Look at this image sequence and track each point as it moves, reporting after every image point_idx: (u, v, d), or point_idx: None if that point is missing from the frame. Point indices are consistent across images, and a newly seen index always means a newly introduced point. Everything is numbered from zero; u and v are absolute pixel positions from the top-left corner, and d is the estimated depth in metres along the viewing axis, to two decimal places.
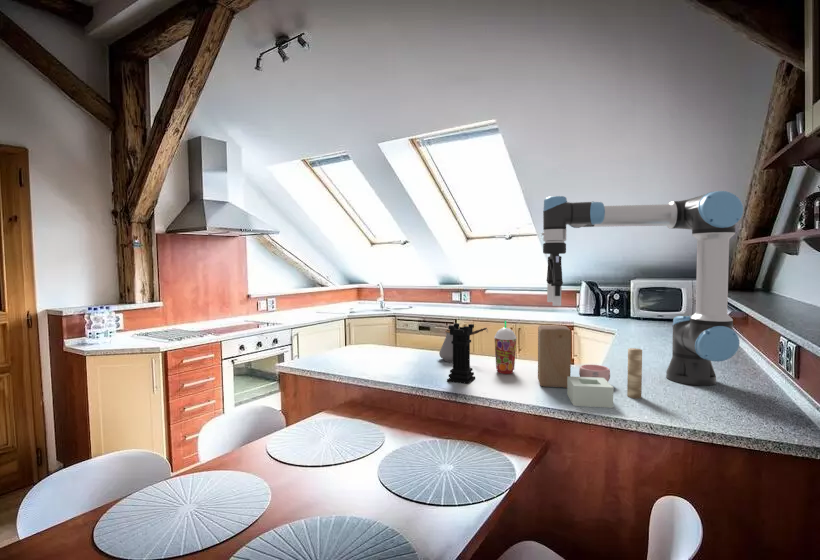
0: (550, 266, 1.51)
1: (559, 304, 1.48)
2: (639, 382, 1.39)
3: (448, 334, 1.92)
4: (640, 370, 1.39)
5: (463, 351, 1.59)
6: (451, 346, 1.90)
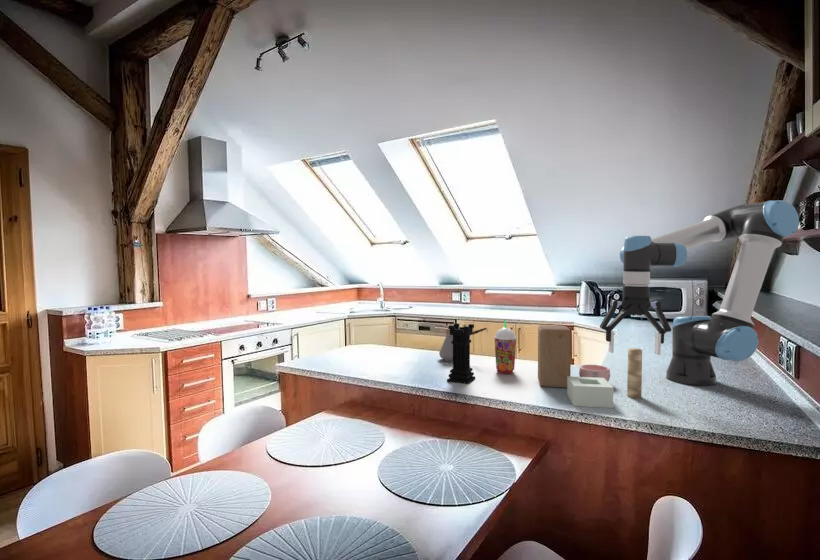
0: (622, 310, 1.43)
1: (610, 350, 1.41)
2: (639, 382, 1.39)
3: (448, 334, 1.92)
4: (640, 370, 1.39)
5: (463, 351, 1.59)
6: (451, 346, 1.90)
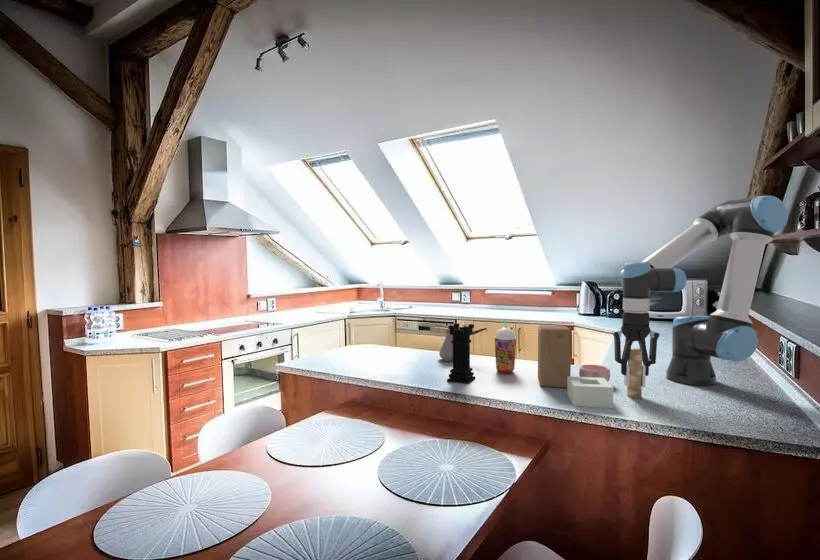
0: (626, 339, 1.43)
1: (626, 384, 1.41)
2: (639, 382, 1.39)
3: (448, 334, 1.92)
4: (640, 370, 1.39)
5: (463, 351, 1.59)
6: (451, 346, 1.90)
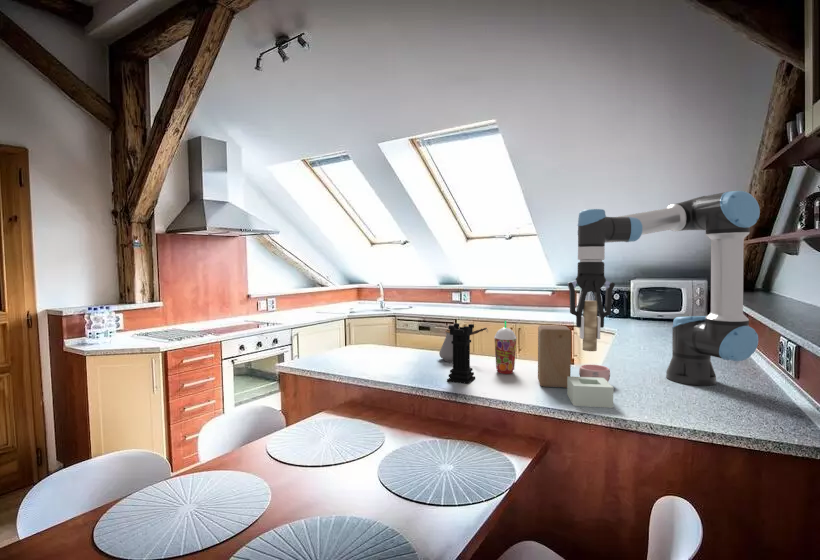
0: None
1: (580, 336, 1.36)
2: (594, 334, 1.34)
3: (448, 334, 1.92)
4: (595, 322, 1.34)
5: (463, 351, 1.59)
6: (451, 346, 1.90)
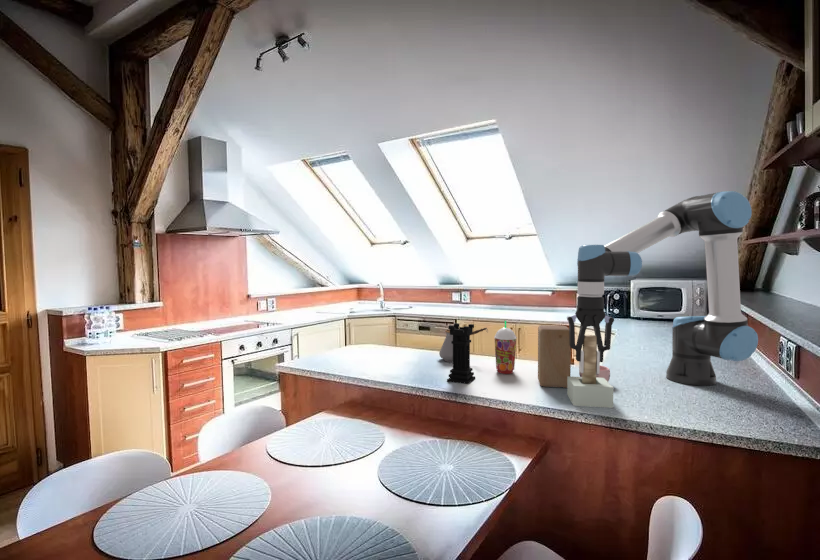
0: (581, 324, 1.38)
1: (580, 370, 1.36)
2: (593, 369, 1.35)
3: (448, 334, 1.92)
4: (594, 357, 1.35)
5: (463, 351, 1.59)
6: (451, 346, 1.90)
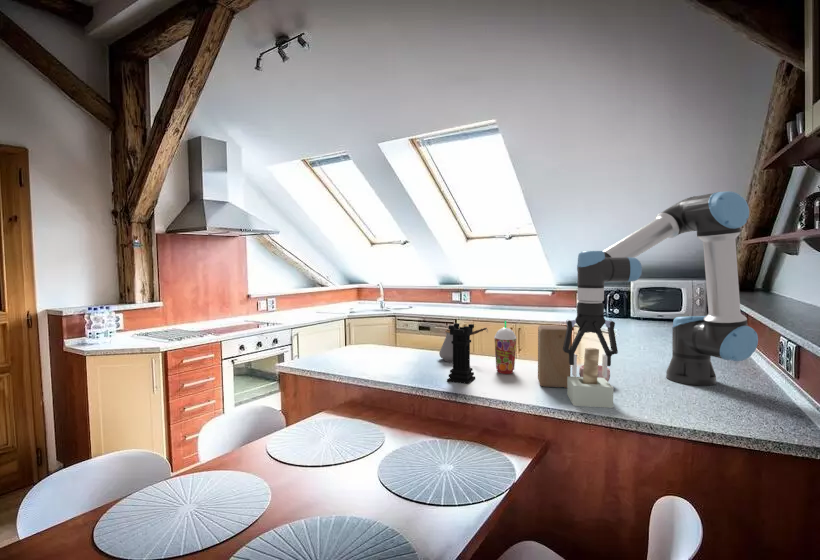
0: (579, 329, 1.38)
1: (573, 374, 1.37)
2: (594, 383, 1.35)
3: (448, 334, 1.92)
4: (596, 370, 1.35)
5: (463, 351, 1.59)
6: (451, 346, 1.90)
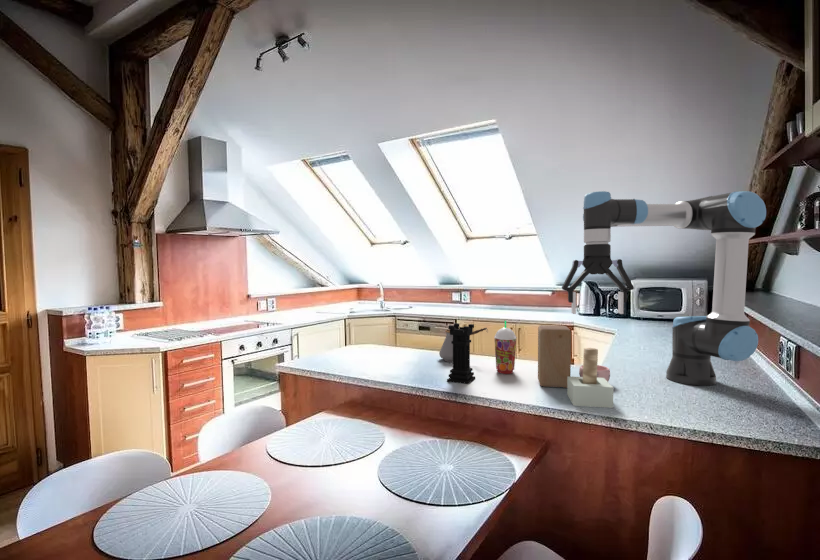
0: (584, 270, 1.38)
1: (572, 311, 1.37)
2: (594, 383, 1.35)
3: (448, 334, 1.92)
4: (595, 370, 1.35)
5: (463, 351, 1.59)
6: (451, 346, 1.90)
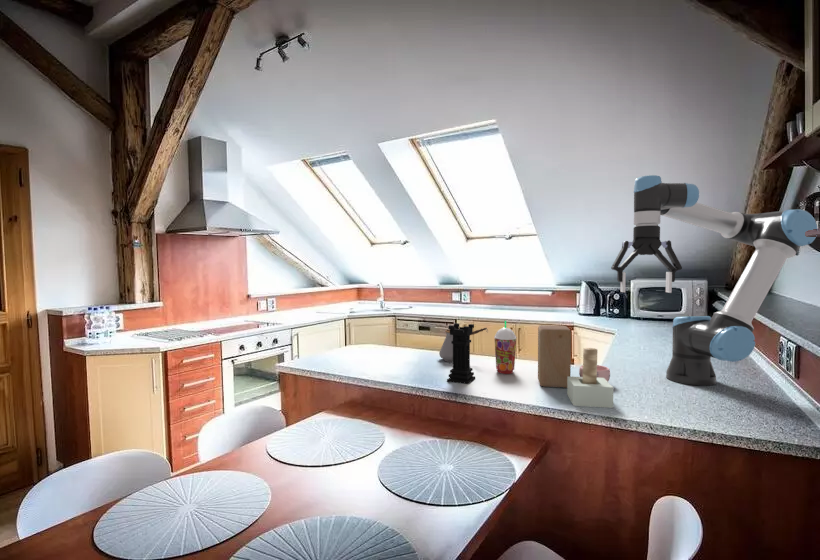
0: (633, 251, 1.45)
1: (622, 290, 1.44)
2: (593, 383, 1.35)
3: (448, 334, 1.92)
4: (595, 370, 1.35)
5: (463, 351, 1.59)
6: (451, 346, 1.90)
